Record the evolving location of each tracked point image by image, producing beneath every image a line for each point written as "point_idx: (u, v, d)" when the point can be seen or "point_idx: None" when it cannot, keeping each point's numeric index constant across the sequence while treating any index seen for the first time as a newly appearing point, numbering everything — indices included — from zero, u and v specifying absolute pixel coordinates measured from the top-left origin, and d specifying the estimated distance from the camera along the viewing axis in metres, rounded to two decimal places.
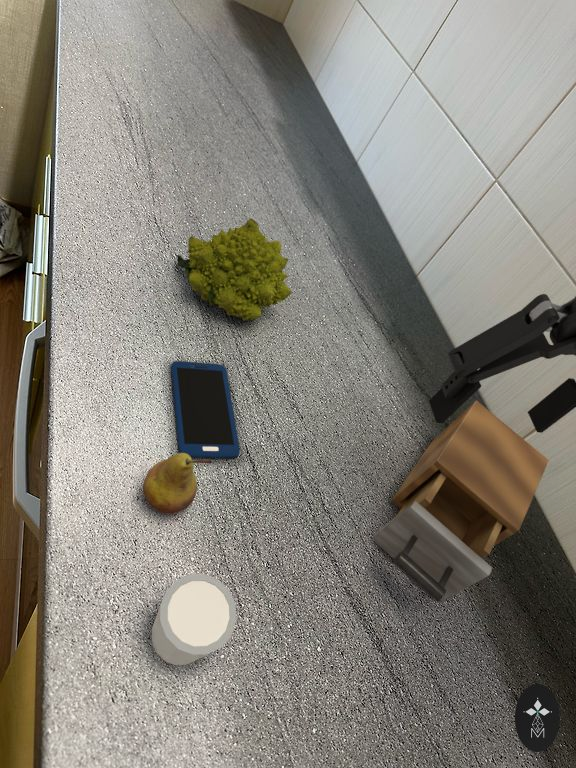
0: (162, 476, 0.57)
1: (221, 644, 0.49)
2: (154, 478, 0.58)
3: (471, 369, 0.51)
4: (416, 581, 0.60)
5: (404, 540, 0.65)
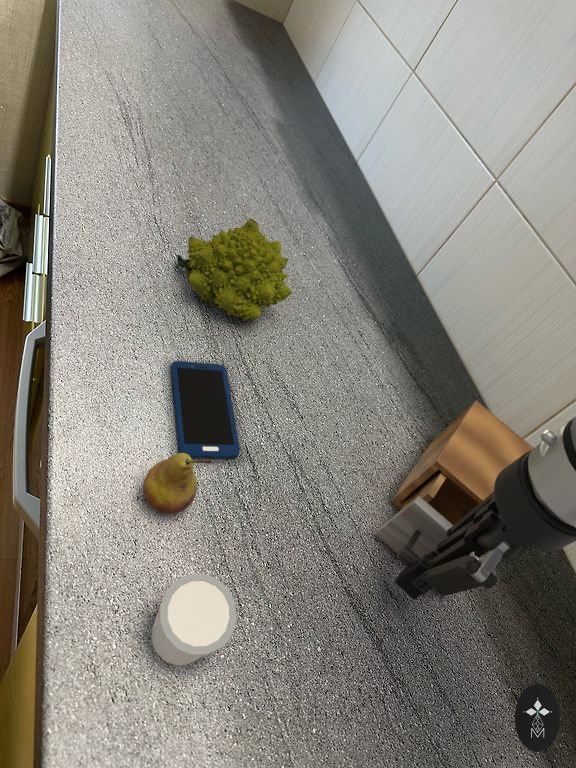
0: (162, 476, 0.57)
1: (221, 644, 0.49)
2: (154, 478, 0.58)
3: None
4: None
5: (407, 535, 0.66)
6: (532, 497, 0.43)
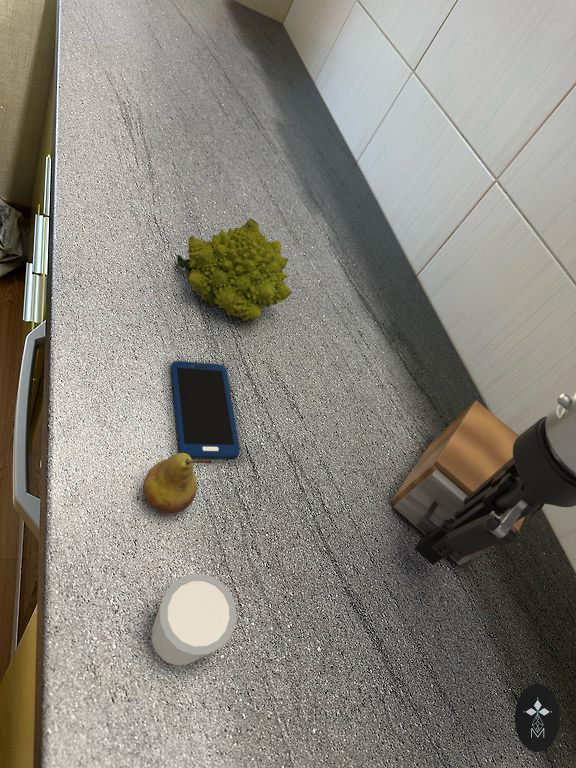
0: (162, 476, 0.57)
1: (221, 644, 0.49)
2: (154, 478, 0.58)
3: None
4: None
5: (424, 507, 0.69)
6: (549, 456, 0.47)
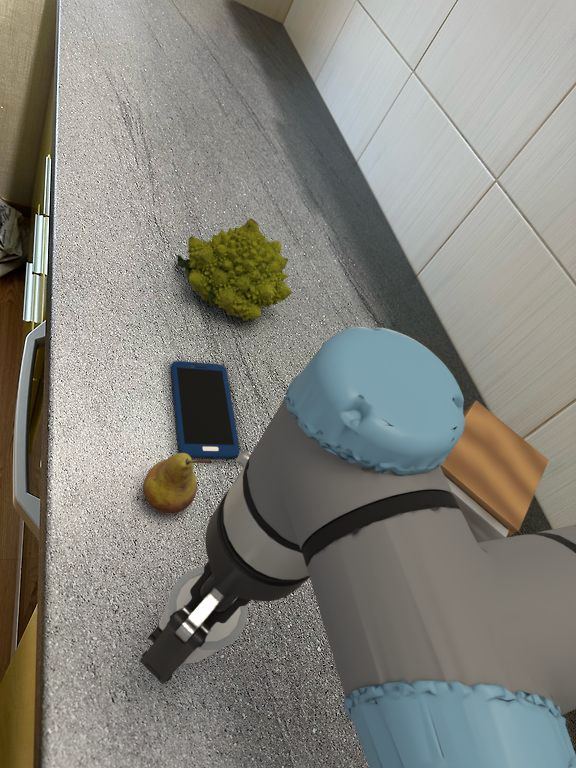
0: (162, 476, 0.57)
1: (232, 639, 0.47)
2: (154, 478, 0.58)
3: None
4: None
5: None
6: (226, 536, 0.34)
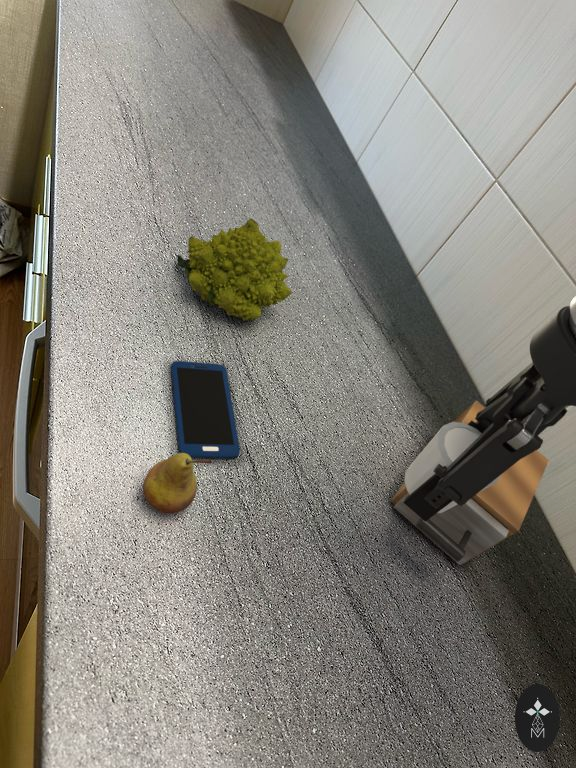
0: (162, 476, 0.57)
1: (495, 480, 0.52)
2: (154, 478, 0.58)
3: None
4: (437, 543, 0.65)
5: None
6: (575, 344, 0.39)
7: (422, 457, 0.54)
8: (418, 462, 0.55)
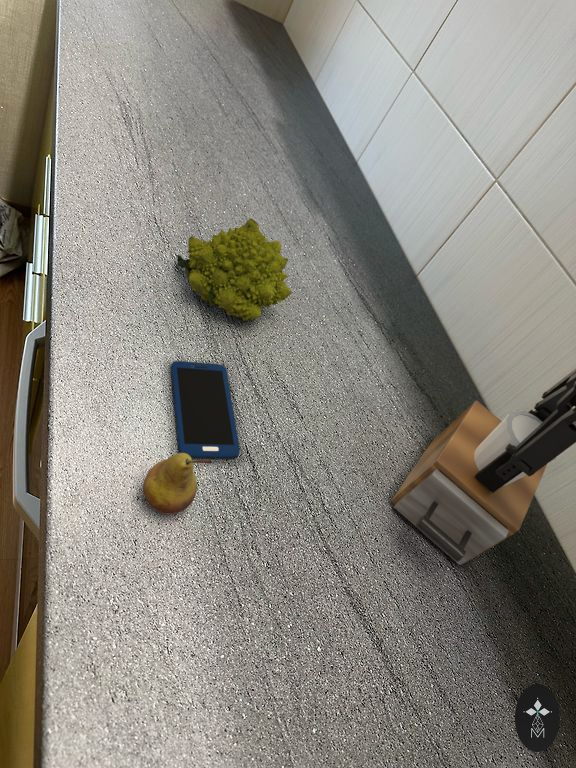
0: (162, 476, 0.57)
1: None
2: (154, 478, 0.58)
3: None
4: (437, 543, 0.65)
5: (424, 507, 0.69)
6: None
7: (491, 439, 0.66)
8: (487, 443, 0.66)
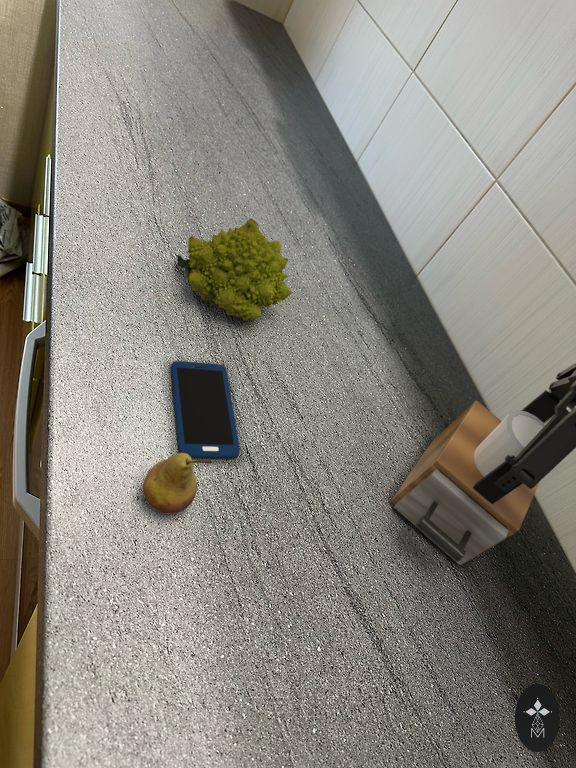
0: (162, 476, 0.57)
1: None
2: (154, 478, 0.58)
3: None
4: (437, 543, 0.65)
5: (424, 507, 0.69)
6: None
7: (491, 439, 0.66)
8: (487, 443, 0.66)
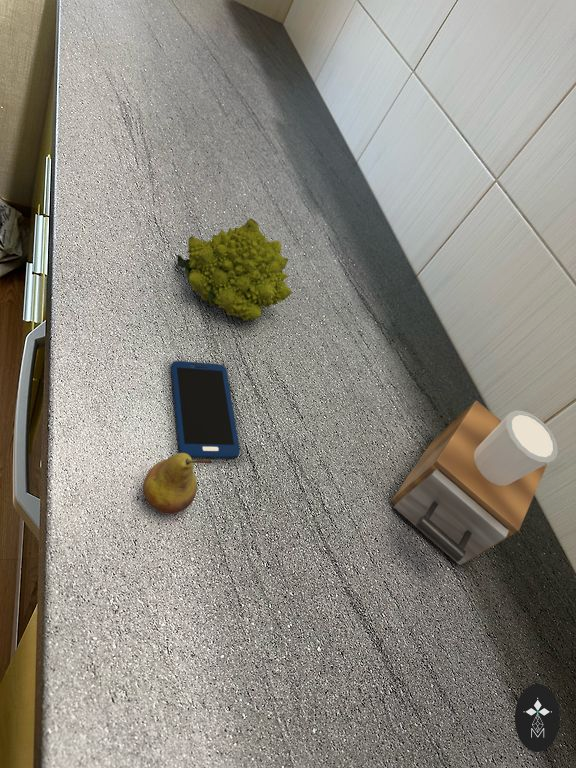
0: (162, 476, 0.57)
1: (554, 457, 0.63)
2: (154, 478, 0.58)
3: None
4: (437, 543, 0.65)
5: (424, 507, 0.69)
6: None
7: (491, 439, 0.66)
8: (487, 443, 0.66)
